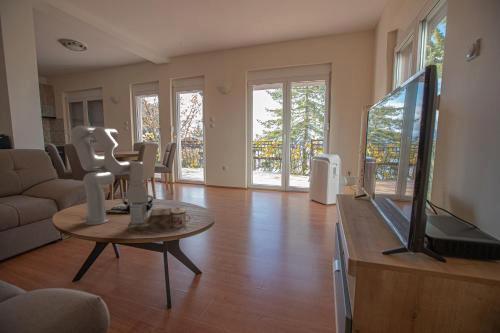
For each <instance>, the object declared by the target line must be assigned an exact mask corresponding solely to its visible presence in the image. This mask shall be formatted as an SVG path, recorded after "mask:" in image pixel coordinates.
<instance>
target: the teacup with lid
mask: <svg viewBox="0 0 500 333" xmlns="http://www.w3.org/2000/svg"><path fill="white" fill-rule="evenodd" d="M187 216H188V220H187ZM190 220H191V215H190V214H189V213H187V210H186V209H184V208H181V206H179V205H178V206H176V208H174V209H171V227H172V228H177V229H178V228H183V227H186V225H187V223H188V222H190Z"/></svg>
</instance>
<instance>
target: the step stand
mask: <svg viewBox="0 0 500 333" xmlns="http://www.w3.org/2000/svg"><path fill="white" fill-rule="evenodd" d="M171 211H172V208H170V207H169V208H155V209H153V208H151V212H150V213H149V216H148V218H147V219H146V220H145V221H144V222H143V223H139V224H131V221H130V222H129V223H128V233H136V235H137V236H139V235H140V234H141V232H151V231H153V232H154V231H164V230H171V227H172V226H171Z"/></svg>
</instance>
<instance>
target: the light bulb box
mask: <svg viewBox="0 0 500 333" xmlns="http://www.w3.org/2000/svg"><path fill="white" fill-rule="evenodd" d="M146 205H147V204H146V203H131V204H130V213H129V216H130V217H129V218H130V222H131V224H139V223H143V222H144V221H145V220H146V219H147V218H148V217H149V216H148V214H149V213H148V212H146Z"/></svg>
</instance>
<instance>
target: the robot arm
mask: <svg viewBox="0 0 500 333" xmlns="http://www.w3.org/2000/svg"><path fill="white" fill-rule="evenodd" d="M70 140H71V143H72V145H73V146H74V149H75V151H76V153H77V158H78V159H79V162H80V165H81V167H82V169H83V170H84V171H92V172H89V173H86V174H85V175H84V177H83V179H82V180H83V185H84V188H85V195H86V206H87V208H86V209H87V215H82V216H81V215H80V220H81V221H84V224H85V225H87V226H98V225H102V224H105V223H107V222H109V221H110V218H109V217H107V210H106V207H107V206H106V195H105V194H106V193H105V191H104V189H103V187H105V186H108V185H112V184H113V183H114V182H115V176H120V175H121V176H122V175H125V174H126V175H127V174H128V175H129V180H128V181H127V182H126V183H127V185H128V187H127V195H125V196H124V197H122V198H121V201H122V203H123V204H124V205H125V206H126V212H127V213H128V214H130V205H131V204H133V203H146V204H147V205H146V212H147V213H148V212H149V211H150V210H149V204H150V203H153V201H154V199H155V197H154V196H153V195H150V194H148V190H147V189H148V188H147V184H145V165H144V162H143V161H134V160H122V161H121V160H120V161H118V160H117V159H116V158H115V156H114V154H115V153H116V152H117V151H119V149H120V144H119V143H118V142H117V140H119V132H118V131H117V129H115V128H113V127H104V126H93V125H92V126H91V125H77V126H75V127H73V128H72V129H71V131H70ZM88 141H95V142H96V143H97V144H98V146H99V147H100V148H101V150H102V151H103V152H104V154H96V153H95V150H94V148H93V146H92V144H90V142H88ZM97 170H99V171H97ZM149 199H150V200H149ZM126 200H127V201H126Z"/></svg>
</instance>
